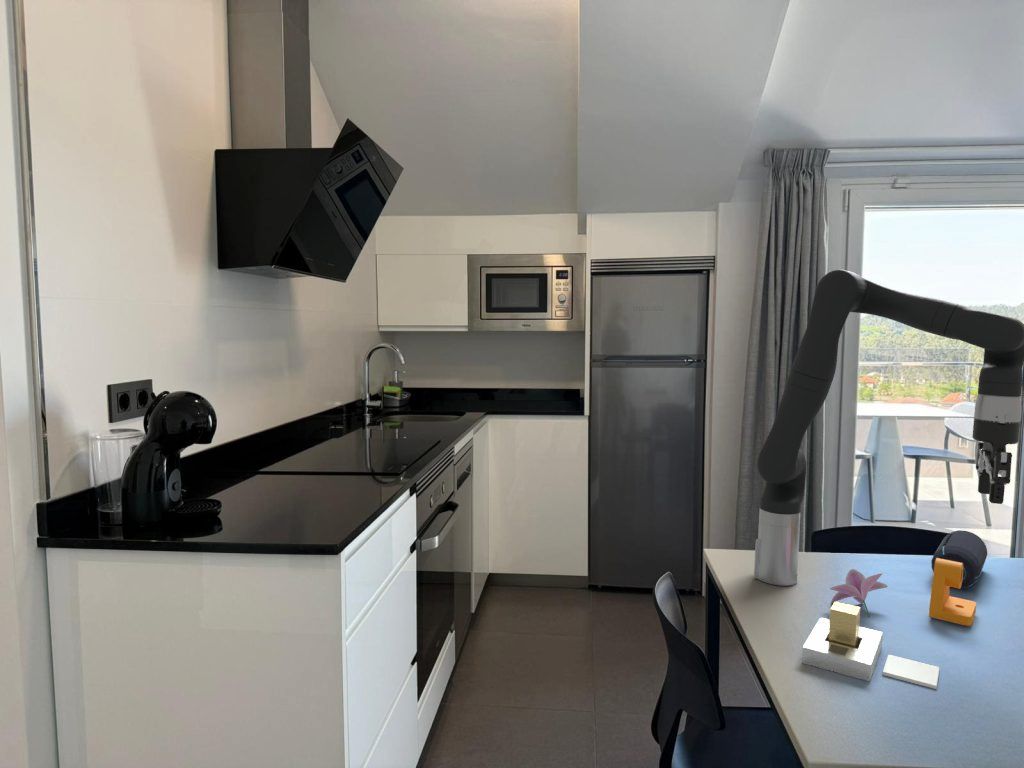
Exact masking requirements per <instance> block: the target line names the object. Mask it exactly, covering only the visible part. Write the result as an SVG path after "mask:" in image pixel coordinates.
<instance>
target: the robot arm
mask: <svg viewBox="0 0 1024 768" xmlns="http://www.w3.org/2000/svg"><path fill="white" fill-rule="evenodd" d="M814 291H815V292H814V297H813V301H812V306H811V310H810V313H809V318H808V322H807V326H806V329H805V330H804V334H803V336H802V339H801V341H800V344H799V346H798V349H797V352H796V355H795V358H794V360H793V363H792V366H791V368H790V370H789V374H788V377H787V380H786V383H785V385H784V390H783V393H782V396H781V398H780V402H779V404H778V409H777V412H776V415H775V419H774V421H773V424H772V427H771V428H770V431H769V432H768V435H767V437H766V440H765V442H764V443H763V444H762V445H763V446H762V448H761V450H760V452H759V454H758V456H757V463H756V464H757V472H758V473H759V475H760V477H761V478H762V480H764V481H765V486H764V489H763V492H762V494H761V496H760V498H759V512H758V514H759V515H758V532H757V533H758V536H757V537H758V538H756V539H755V549H754V566H753V567H754V569H753V578H754V579H756V580H759V581H761V582H764V583H767V584H769V585H775V586H787V587H788V586H794V585H795V584H797V582H798V575H799V574H798V570H799V569H798V568H799V551H800V530H801V528H800V527H801V512H802V510H801V508H802V503H803V501H804V497H805V488H806V476H807V459H806V456H805V454H804V452H803V450H802V449H801V445H802V442H803V440H804V436H805V434H806V432H807V430H808V429H809V427H810V425H811V424H812V422H813V421H814V419H815V418H816V416H818V414H819V412H820V410H821V408H822V407H823V405H824V403H825V401H826V399H827V398H828V397H827V396H829V395H828V394H829V392H830V389H831V386H832V384H833V381H834V378H835V375H836V371H837V370H836V369H837V364H838V351H839V342H840V338H841V333H842V331H843V329H844V326H845V324H846V321H847V318H848V316H849V314H850V313H857V314H866V315H872V316H876V317H881V318H884V319H888V320H891V321H895V322H898V323H900V324H903V325H905V326H908V327H910V328H914V329H916V330H919V331H922V332H925V333H929V334H933V335H936V336H940V337H943V338H947V339H950V340H951V339H952V340H957V341H961V342H964V343H967V344H970V345H973V346H975V347H978V348H981V349H984V350H983V363H982V364H983V365H982V367H981V369H980V371H979V374H978V375H979V376H978V377H979V378H978V385H977V386H978V388H977V395H976V400H975V403H974V414H973V415H974V416H973V424H972V425H973V426H972V437H971V438H972V439H973V440H974V441H977V442H978V443H977V455H976V463H975V470H977V474H978V483H977V492H978V493H979V494H982V495H989V496H988V501H989V502H990V503H991V504H999V505H1002V504H1003V503H1004V497H1005V487H1006V486H1007V485H1008V484H1010V482H1011V474H1012V458H1013V453H1012V452H1007V445H1016V444H1018V443H1019V440H1020V430H1021V419H1022V418H1021V417H1022V392H1023V391H1022V390H1023V388H1022V387H1023V368H1024V367H1023V366H1024V323H1023V322H1022V321H1020V319H1017V318H1014V317H1010V316H1007V315H1006V316H1005V315H1001V314H997V313H991V312H987V311H983V310H982V311H981V310H977V309H973V308H971V307H968V306H966V305H962V304H958V303H955V302H951V301H948V300H942V299H940V298H934V297H931V296H930V297H929V296H926V295H919V294H913V293H908V292H902V291H899V290H895V289H892V288H889V287H887V286H883V285H881V284H877V283H875V282H873V281H871V280H868V279H867V278H865V277H862V276H861V275H859V274H858V273H855V272H853V271H849V270H845V269H835V270H831V271H829V272H828V273H826V274H825V275H823V276H822V277H821V279H820V280H819V282H818V284H817V285H816V288H815V290H814Z"/></svg>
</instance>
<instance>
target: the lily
mask: <svg viewBox="0 0 1024 768" xmlns="http://www.w3.org/2000/svg"><path fill="white" fill-rule="evenodd" d="M882 575H883V573H877V574H873V575H870V576H868V577H865V575H864V574H863V573H862V572H861V571H859V570H857V569H855V568H851V569H850V570H849V571H848V573H847V575H846V577H845V583H844V584H839V585H834V586H831V587H830V588H829V590H832V591H835V592H837V593H835V594H834V595H833V597H832V599H831V603H834V602H839V601H841V600H844V599H848V598H853V599H854V600H855V601H856V602H858V603H860V604H862V603H863V605H864V609H865V611H866V615H867V617H868V618H870V614H869V610H868V607H867V604H866V598H867V596H868V593H870V592H872V591H877V590H881V589H885V588H888V587H889V586H888V585H887V584H885V583H883V582H881V581H878V580H879V579H880V577H882Z"/></svg>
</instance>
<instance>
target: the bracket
mask: <svg viewBox="0 0 1024 768" xmlns="http://www.w3.org/2000/svg"><path fill="white" fill-rule="evenodd" d="M962 579H963V563H960V562H955V561H950V560H945V559H940V558H936V561H935V566H934V572H933V576H932V584H931V591H930V600H929V608H928V609H929V610H928V617H929V618H934V619H938V620H942V621H945V622H951V623H953V624H957V625H958V624H959V625H961V626H962V625H963V626H969V627H972V626H973V624H974V621H975V618H976V613H977V602H976V601H973V600H970V599H964V598H960V597H956V596H951V595H950V588H955V589H962V588H961V585H962Z"/></svg>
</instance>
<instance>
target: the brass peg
mask: <svg viewBox="0 0 1024 768" xmlns="http://www.w3.org/2000/svg"><path fill="white" fill-rule="evenodd" d="M861 608H862V607H861V606H856V605H854V604H853V605H852V604H847V603H843V602H839V601H836V602H833V604H832V606H831V607H830V610H829V620H830V624H829V642H832V643H836V644H840V645H844V646H848V647H852V648H856V649H858V643H859V627H860V625H861V624H860V622H861Z"/></svg>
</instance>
